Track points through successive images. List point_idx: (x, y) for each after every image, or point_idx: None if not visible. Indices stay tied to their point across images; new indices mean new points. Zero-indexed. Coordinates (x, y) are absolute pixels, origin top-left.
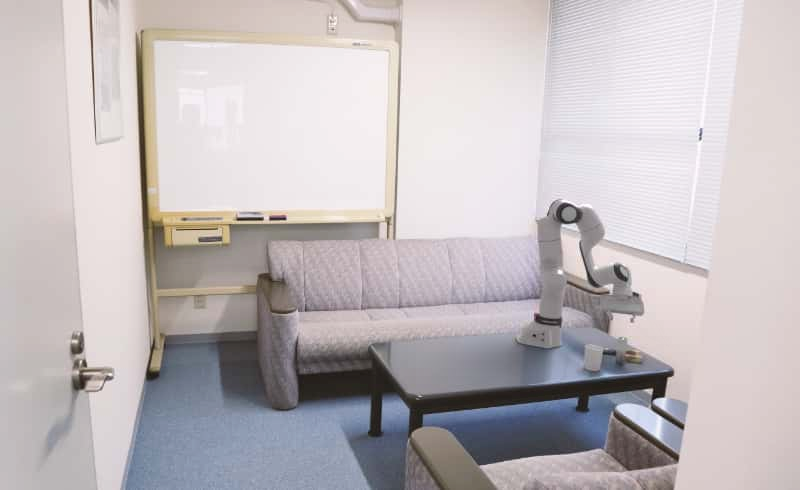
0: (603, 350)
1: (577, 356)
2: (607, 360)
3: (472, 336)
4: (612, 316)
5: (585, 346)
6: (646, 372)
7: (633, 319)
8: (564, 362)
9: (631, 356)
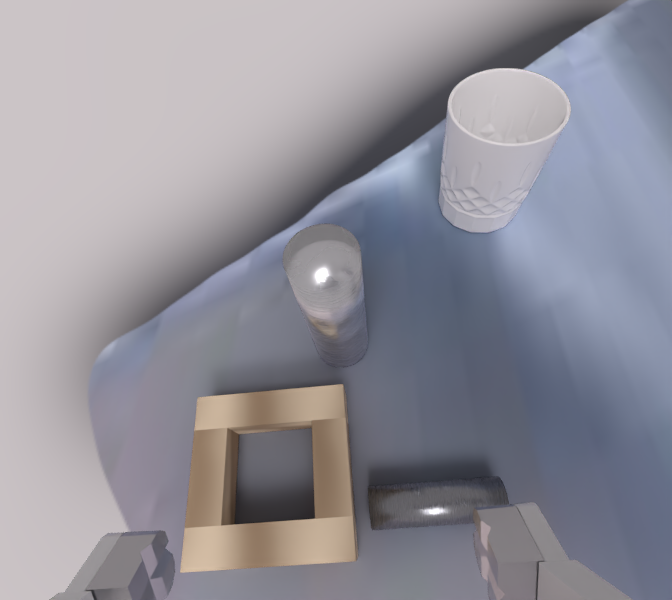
0: (462, 481)
1: (601, 336)
2: (414, 353)
3: None
4: (501, 540)
5: (564, 94)
6: (216, 273)
7: (95, 557)
8: (629, 215)
9: (266, 391)
